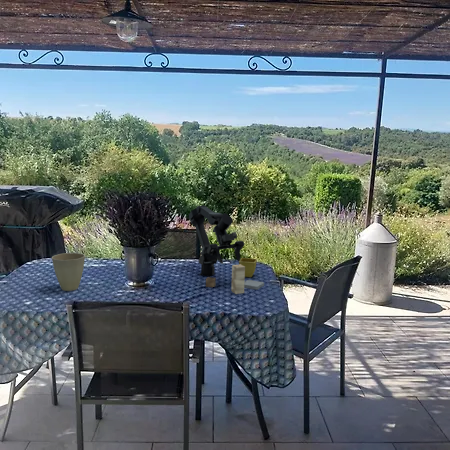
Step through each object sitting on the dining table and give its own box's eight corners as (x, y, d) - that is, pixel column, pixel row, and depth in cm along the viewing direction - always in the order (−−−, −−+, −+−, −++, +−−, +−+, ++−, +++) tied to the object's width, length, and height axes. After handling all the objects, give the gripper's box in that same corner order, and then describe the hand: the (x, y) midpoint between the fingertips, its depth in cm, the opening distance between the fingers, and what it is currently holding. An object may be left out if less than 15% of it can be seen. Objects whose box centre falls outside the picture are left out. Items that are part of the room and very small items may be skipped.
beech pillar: (231, 291, 219) (232, 265, 217) (239, 290, 221) (240, 264, 219) (235, 294, 215) (236, 267, 213) (244, 292, 217) (244, 266, 215)
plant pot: (70, 282, 226) (69, 251, 224) (92, 287, 219) (91, 255, 217) (45, 290, 213) (44, 257, 211) (68, 295, 206) (67, 261, 204)
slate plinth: (240, 286, 226) (240, 284, 226) (247, 282, 234) (248, 279, 234) (257, 289, 222) (257, 286, 222) (264, 285, 230) (264, 282, 230)
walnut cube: (205, 287, 225) (205, 279, 225) (207, 284, 229) (207, 277, 229) (213, 287, 224) (213, 279, 224) (215, 285, 228) (215, 277, 228)
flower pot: (254, 278, 242) (254, 262, 240) (238, 277, 244) (238, 261, 242) (256, 274, 250) (257, 258, 249) (240, 273, 252) (241, 257, 251)
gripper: (209, 228, 220) (218, 256, 213) (243, 225, 228) (253, 252, 221) (203, 240, 229) (211, 267, 222) (236, 236, 237) (245, 262, 230)
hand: (230, 262), depth 224 cm, fingers open, 9 cm apart
